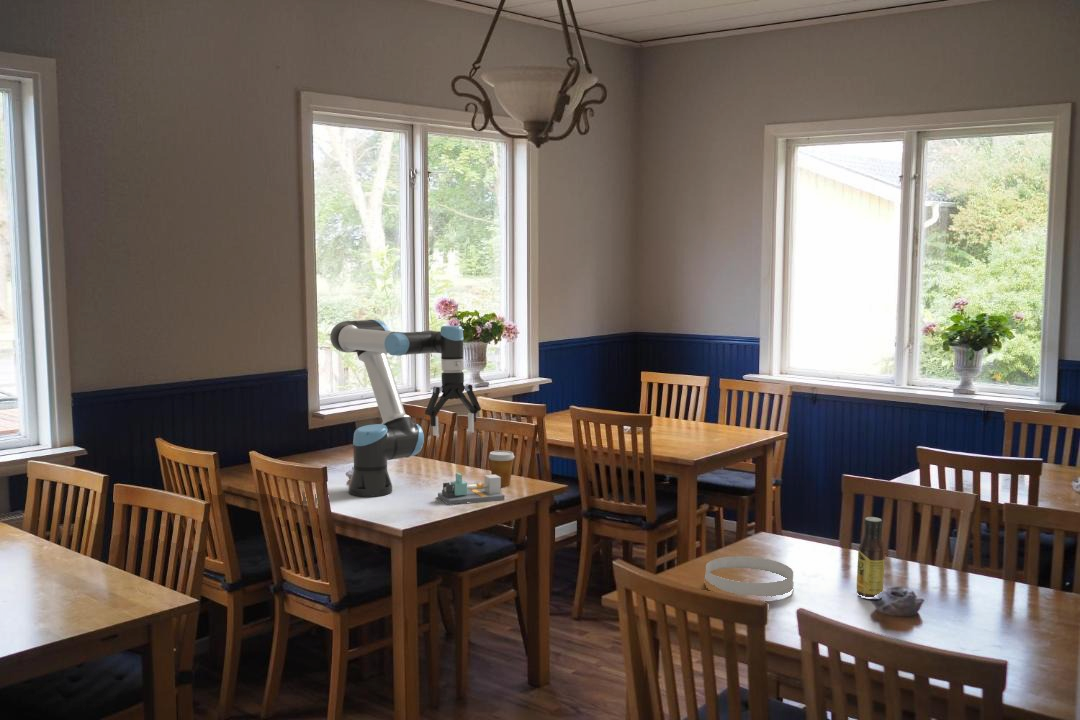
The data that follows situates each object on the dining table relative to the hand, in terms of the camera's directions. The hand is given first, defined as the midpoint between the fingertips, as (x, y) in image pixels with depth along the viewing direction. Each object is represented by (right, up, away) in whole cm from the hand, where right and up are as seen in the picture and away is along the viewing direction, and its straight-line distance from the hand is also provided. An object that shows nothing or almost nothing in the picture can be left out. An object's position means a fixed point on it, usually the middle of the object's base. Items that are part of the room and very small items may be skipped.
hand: (453, 433), depth 335 cm
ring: (+82, -33, -85) cm, 123 cm away
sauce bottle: (+111, -34, -91) cm, 147 cm away
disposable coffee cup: (+15, -21, +27) cm, 37 cm away
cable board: (+5, -23, +6) cm, 24 cm away
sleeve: (+1, -21, +4) cm, 21 cm away
